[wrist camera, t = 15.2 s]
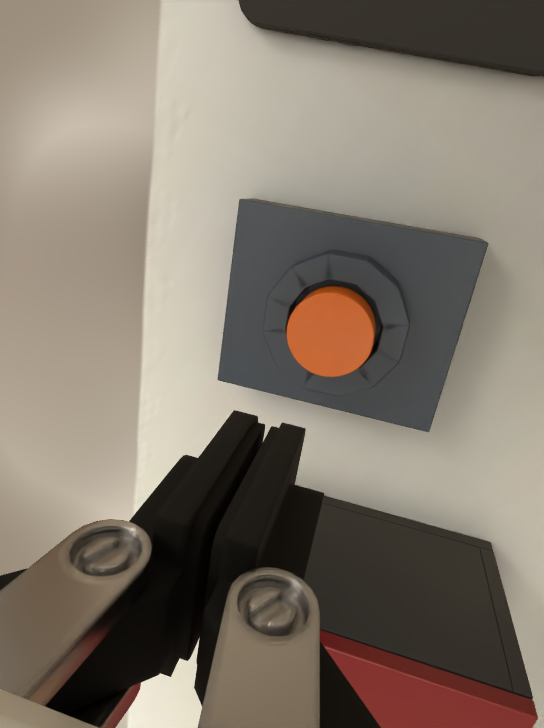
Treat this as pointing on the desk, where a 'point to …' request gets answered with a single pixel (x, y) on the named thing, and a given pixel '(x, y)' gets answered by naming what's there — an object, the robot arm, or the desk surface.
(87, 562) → the robot arm
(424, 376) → the control block
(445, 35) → the phone
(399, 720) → the lid
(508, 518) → the desk surface
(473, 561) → the dark grey box
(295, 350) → the button
